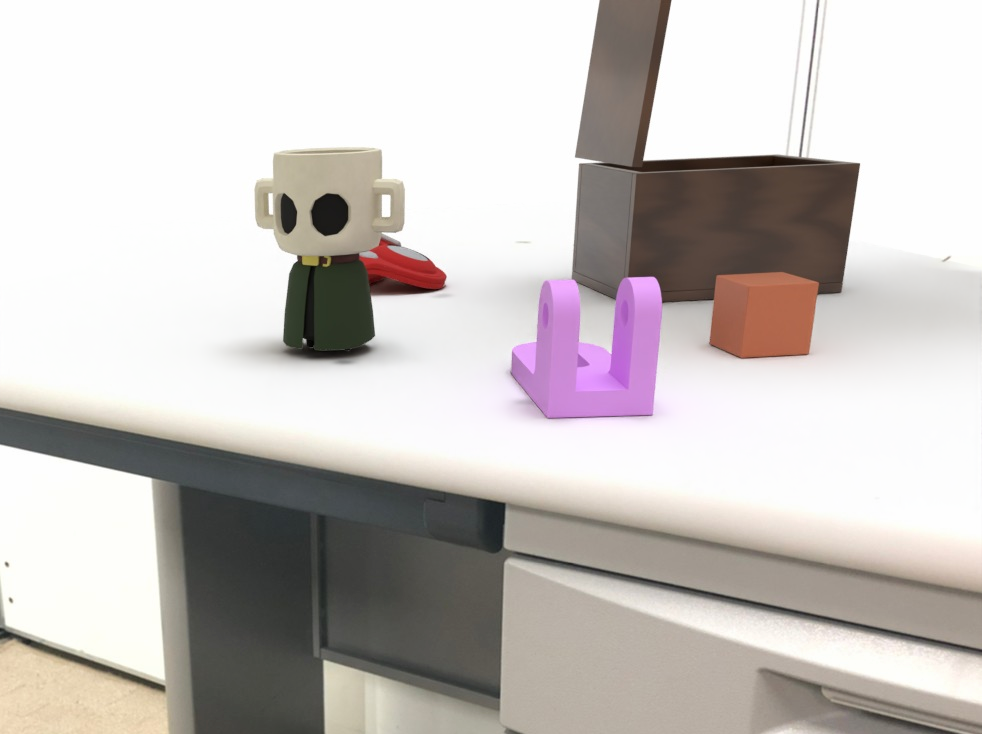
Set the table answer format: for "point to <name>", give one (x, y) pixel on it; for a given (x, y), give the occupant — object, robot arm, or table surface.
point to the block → (763, 314)
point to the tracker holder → (401, 265)
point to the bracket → (592, 354)
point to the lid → (622, 80)
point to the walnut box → (713, 222)
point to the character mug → (328, 239)
